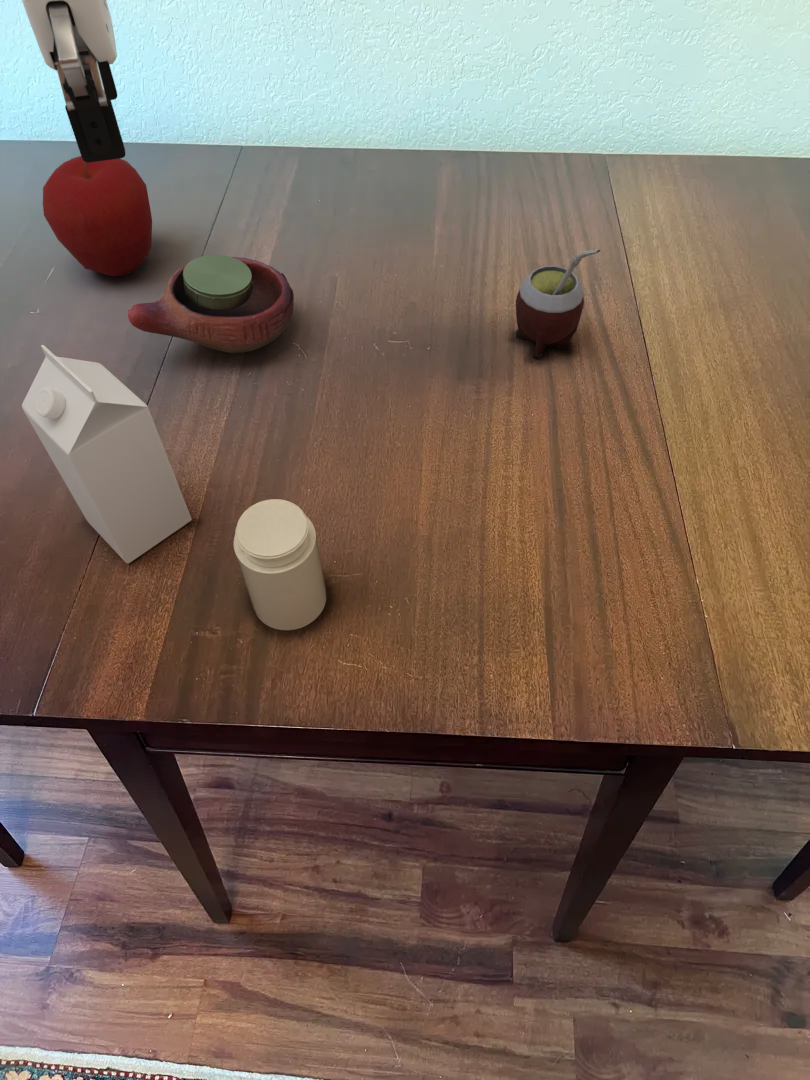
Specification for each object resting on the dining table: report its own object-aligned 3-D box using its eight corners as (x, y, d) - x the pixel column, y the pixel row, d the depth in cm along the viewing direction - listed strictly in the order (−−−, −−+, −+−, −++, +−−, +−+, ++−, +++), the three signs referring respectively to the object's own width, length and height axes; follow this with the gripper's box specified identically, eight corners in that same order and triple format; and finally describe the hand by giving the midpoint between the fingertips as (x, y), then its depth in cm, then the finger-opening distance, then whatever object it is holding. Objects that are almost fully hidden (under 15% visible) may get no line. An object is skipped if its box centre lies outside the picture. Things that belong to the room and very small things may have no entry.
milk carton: (150, 479, 76) (82, 322, 60) (193, 521, 73) (133, 367, 57) (86, 521, 73) (-2, 367, 58) (128, 566, 70) (46, 417, 55)
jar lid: (261, 280, 83) (261, 265, 82) (237, 317, 79) (237, 301, 78) (200, 264, 84) (199, 248, 82) (173, 299, 79) (171, 283, 78)
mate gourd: (521, 315, 90) (538, 192, 77) (588, 330, 88) (617, 207, 76) (502, 356, 86) (517, 234, 73) (572, 373, 84) (599, 251, 72)
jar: (252, 634, 66) (228, 565, 57) (253, 570, 70) (230, 497, 61) (328, 626, 66) (315, 557, 58) (324, 564, 70) (312, 490, 61)
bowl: (229, 286, 93) (215, 225, 87) (318, 321, 89) (310, 260, 83) (139, 367, 85) (116, 307, 79) (232, 408, 81) (216, 349, 75)
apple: (112, 227, 100) (75, 122, 89) (187, 250, 97) (158, 144, 86) (49, 280, 94) (2, 174, 83) (127, 306, 91) (88, 200, 80)
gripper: (84, -116, 44) (159, 177, 58) (74, -191, 54) (140, 75, 68) (-57, -105, 43) (55, 191, 57) (-41, -183, 53) (51, 85, 67)
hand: (101, 127), depth 62 cm, fingers open, 9 cm apart
